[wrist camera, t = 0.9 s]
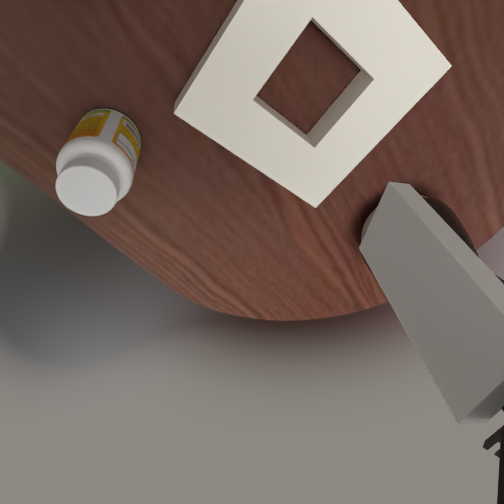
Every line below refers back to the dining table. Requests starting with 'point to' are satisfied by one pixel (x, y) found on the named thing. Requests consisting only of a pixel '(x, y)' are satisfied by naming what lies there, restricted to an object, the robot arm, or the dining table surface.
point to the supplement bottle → (97, 162)
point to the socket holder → (340, 112)
